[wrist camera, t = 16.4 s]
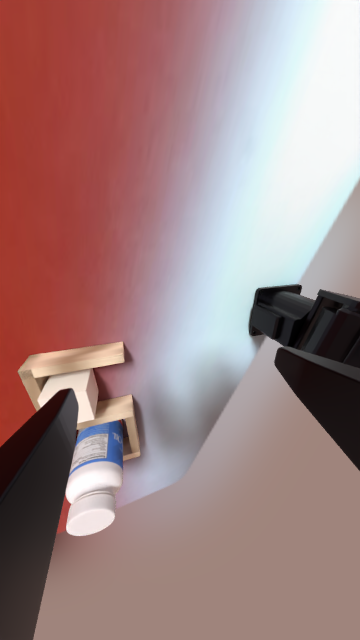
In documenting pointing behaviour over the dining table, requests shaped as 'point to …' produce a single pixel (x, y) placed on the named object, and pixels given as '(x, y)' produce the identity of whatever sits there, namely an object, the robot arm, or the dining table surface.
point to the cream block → (83, 389)
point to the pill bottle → (95, 478)
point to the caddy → (64, 361)
